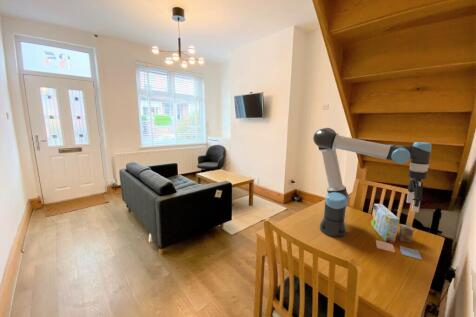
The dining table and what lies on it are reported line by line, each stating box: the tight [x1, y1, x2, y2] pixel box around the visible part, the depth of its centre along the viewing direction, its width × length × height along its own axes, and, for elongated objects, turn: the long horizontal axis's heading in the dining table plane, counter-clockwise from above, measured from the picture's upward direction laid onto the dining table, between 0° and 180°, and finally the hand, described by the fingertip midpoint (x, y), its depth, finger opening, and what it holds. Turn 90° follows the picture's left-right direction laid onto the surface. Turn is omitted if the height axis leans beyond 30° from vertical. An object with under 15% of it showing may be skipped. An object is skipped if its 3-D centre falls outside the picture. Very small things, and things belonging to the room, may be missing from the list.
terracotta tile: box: [375, 239, 396, 253], centre depth 114 cm, size 8×8×1 cm
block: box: [398, 223, 415, 244], centre depth 120 cm, size 5×5×8 cm
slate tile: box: [399, 245, 423, 261], centre depth 109 cm, size 8×8×1 cm
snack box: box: [370, 203, 400, 244], centre depth 127 cm, size 21×6×15 cm, turn 168°
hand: (412, 207), depth 117 cm, fingers open, 13 cm apart
